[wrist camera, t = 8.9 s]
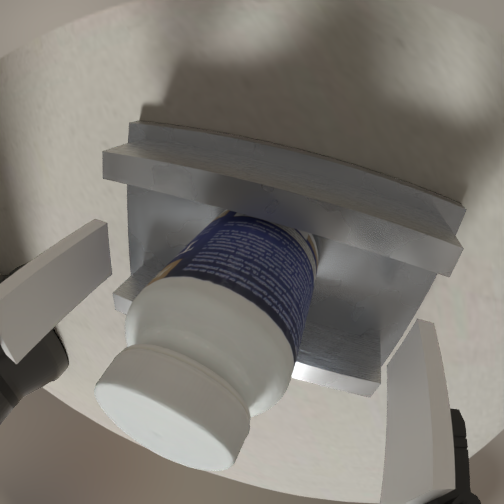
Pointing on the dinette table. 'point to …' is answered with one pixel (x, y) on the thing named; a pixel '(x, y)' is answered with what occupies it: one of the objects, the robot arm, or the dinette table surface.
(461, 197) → the dinette table surface
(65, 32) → the dinette table surface
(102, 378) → the pill bottle
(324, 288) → the rail channel
